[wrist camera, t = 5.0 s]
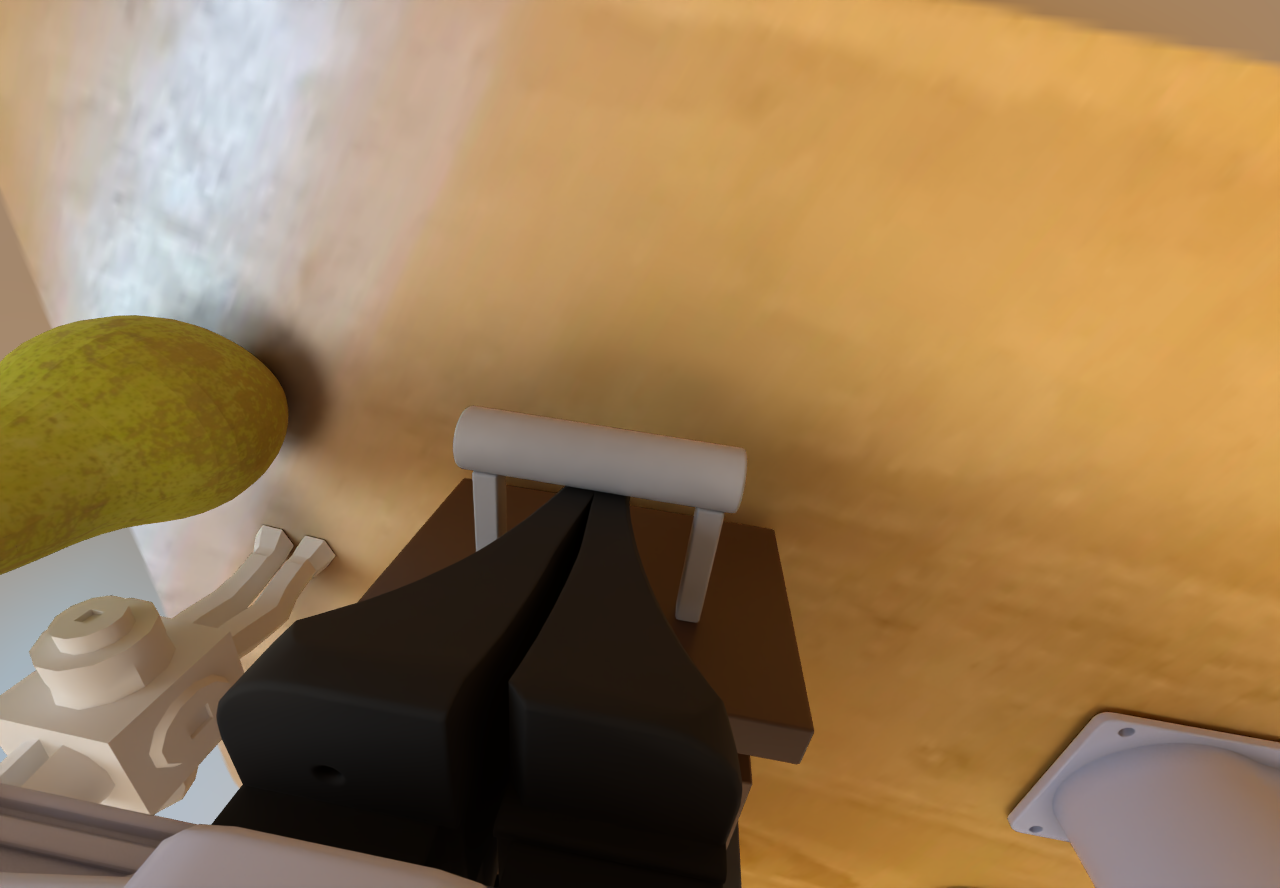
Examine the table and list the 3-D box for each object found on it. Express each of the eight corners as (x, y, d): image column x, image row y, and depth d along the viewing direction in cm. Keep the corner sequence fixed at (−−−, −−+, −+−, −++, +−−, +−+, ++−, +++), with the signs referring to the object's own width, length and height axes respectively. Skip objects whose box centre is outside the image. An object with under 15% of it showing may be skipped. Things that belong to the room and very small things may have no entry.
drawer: (455, 339, 14) (272, 445, 8) (815, 393, 14) (899, 549, 8) (474, 667, 21) (381, 859, 15) (719, 713, 20) (724, 932, 14)
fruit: (138, 291, 16) (-1019, 491, 5) (306, 298, 15) (-617, 539, 5) (207, 450, 18) (-474, 797, 8) (352, 461, 18) (-170, 853, 7)
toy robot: (272, 617, 22) (-118, 999, 12) (233, 474, 19) (-378, 838, 8) (355, 635, 22) (35, 1037, 12) (331, 494, 19) (-162, 890, 8)
